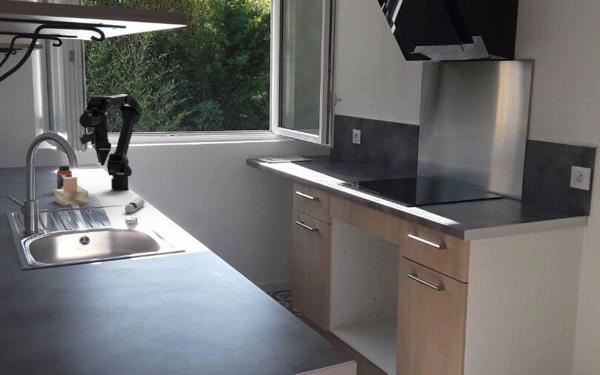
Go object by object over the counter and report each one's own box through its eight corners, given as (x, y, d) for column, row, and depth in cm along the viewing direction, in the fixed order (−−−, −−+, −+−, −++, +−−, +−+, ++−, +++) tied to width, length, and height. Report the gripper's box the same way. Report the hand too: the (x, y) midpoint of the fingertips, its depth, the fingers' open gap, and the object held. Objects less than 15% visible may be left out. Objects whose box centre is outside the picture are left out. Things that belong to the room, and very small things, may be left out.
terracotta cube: (77, 189, 253) (77, 176, 252) (76, 191, 248) (76, 178, 247) (65, 189, 251) (64, 177, 251) (64, 191, 247) (63, 178, 246)
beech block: (80, 199, 258) (79, 187, 257) (88, 204, 250) (87, 191, 249) (54, 201, 252) (54, 189, 251) (61, 206, 244) (61, 193, 243)
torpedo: (134, 215, 233) (134, 197, 231) (122, 214, 233) (121, 196, 232) (148, 205, 250) (148, 188, 249) (136, 204, 251) (136, 188, 249)
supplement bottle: (67, 193, 268) (66, 166, 266) (54, 192, 270) (53, 165, 268) (75, 190, 274) (74, 164, 272) (62, 190, 275) (61, 164, 273)
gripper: (77, 124, 268) (79, 161, 270) (81, 128, 251) (82, 167, 254) (105, 124, 272) (106, 160, 275) (111, 128, 255) (111, 166, 258)
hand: (101, 163), depth 265 cm, fingers open, 9 cm apart
